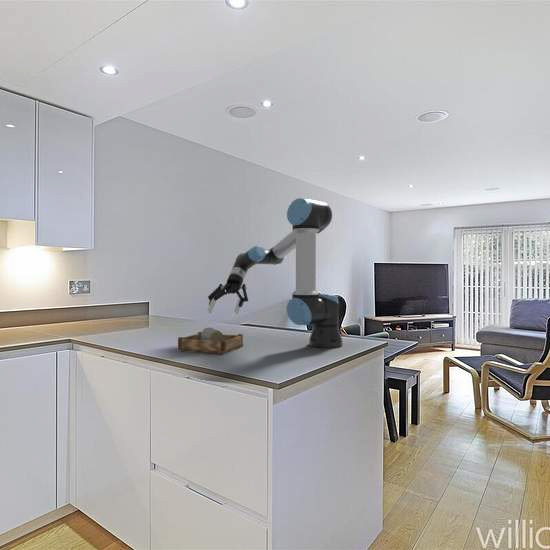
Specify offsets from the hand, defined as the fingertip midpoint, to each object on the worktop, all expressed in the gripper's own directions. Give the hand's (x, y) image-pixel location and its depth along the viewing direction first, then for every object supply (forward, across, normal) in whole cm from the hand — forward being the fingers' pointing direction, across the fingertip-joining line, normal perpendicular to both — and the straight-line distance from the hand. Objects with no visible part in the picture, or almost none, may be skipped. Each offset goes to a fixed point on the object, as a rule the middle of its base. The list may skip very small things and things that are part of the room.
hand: (222, 311), depth 182 cm
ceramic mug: (+16, 0, -4) cm, 17 cm away
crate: (+18, 0, -4) cm, 18 cm away
